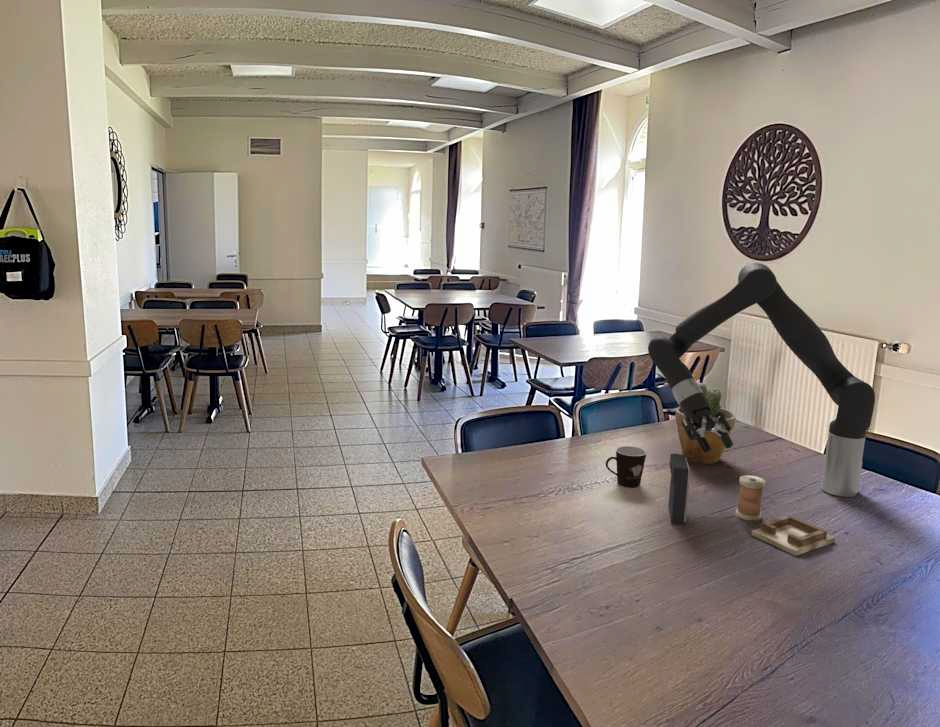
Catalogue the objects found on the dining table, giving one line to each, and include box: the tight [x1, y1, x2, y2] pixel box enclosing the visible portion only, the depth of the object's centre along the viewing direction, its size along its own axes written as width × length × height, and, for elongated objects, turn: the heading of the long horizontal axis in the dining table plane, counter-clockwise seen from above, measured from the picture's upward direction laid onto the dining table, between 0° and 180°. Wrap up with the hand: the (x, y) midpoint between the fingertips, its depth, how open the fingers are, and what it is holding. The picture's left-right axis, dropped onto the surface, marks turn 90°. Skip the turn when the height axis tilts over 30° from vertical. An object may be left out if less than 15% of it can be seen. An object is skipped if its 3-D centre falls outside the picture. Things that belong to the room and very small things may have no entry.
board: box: [751, 514, 836, 557], centre depth 169 cm, size 15×12×3 cm
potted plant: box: [674, 382, 737, 465], centre depth 222 cm, size 18×19×25 cm
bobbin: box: [735, 474, 766, 522], centre depth 180 cm, size 6×6×10 cm
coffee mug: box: [605, 445, 647, 489], centre depth 200 cm, size 12×9×10 cm
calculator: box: [667, 453, 691, 525], centre depth 179 cm, size 11×4×15 cm, turn 168°
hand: (719, 449), depth 188 cm, fingers open, 8 cm apart
